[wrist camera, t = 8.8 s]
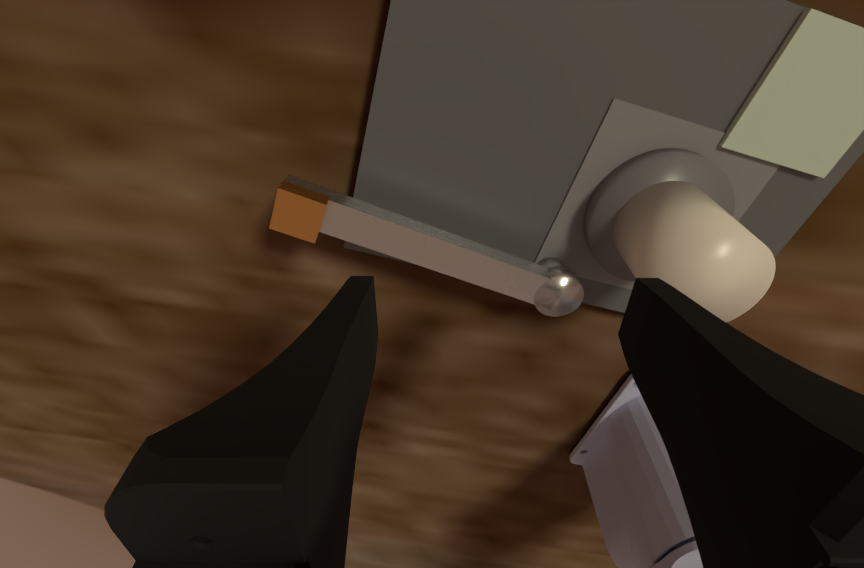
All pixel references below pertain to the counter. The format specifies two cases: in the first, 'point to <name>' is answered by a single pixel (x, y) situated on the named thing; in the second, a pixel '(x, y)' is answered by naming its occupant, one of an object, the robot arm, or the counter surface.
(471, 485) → the counter surface
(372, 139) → the board
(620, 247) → the beige mushroom
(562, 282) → the rod with orange cap
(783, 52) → the pad
